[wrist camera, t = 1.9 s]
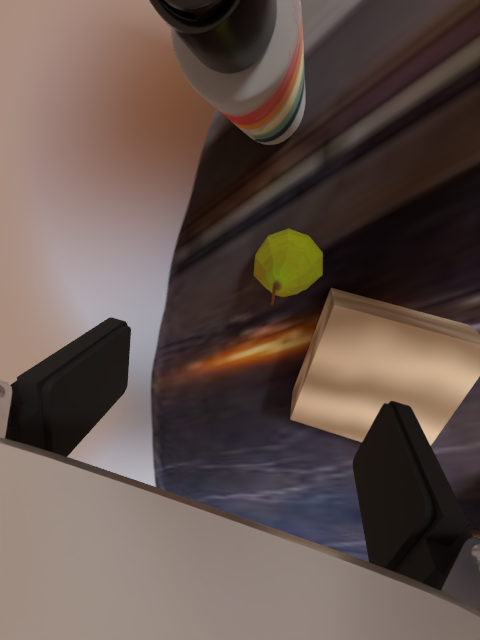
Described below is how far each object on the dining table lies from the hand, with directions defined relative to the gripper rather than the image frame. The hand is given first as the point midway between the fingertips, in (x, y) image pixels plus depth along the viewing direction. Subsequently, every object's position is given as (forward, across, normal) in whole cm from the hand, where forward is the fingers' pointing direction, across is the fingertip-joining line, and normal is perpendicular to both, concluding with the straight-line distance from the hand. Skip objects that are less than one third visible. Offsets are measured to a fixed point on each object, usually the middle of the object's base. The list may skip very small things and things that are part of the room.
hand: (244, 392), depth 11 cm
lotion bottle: (+22, +5, -13) cm, 26 cm away
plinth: (+22, -12, +8) cm, 27 cm away
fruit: (+23, 0, -1) cm, 23 cm away
